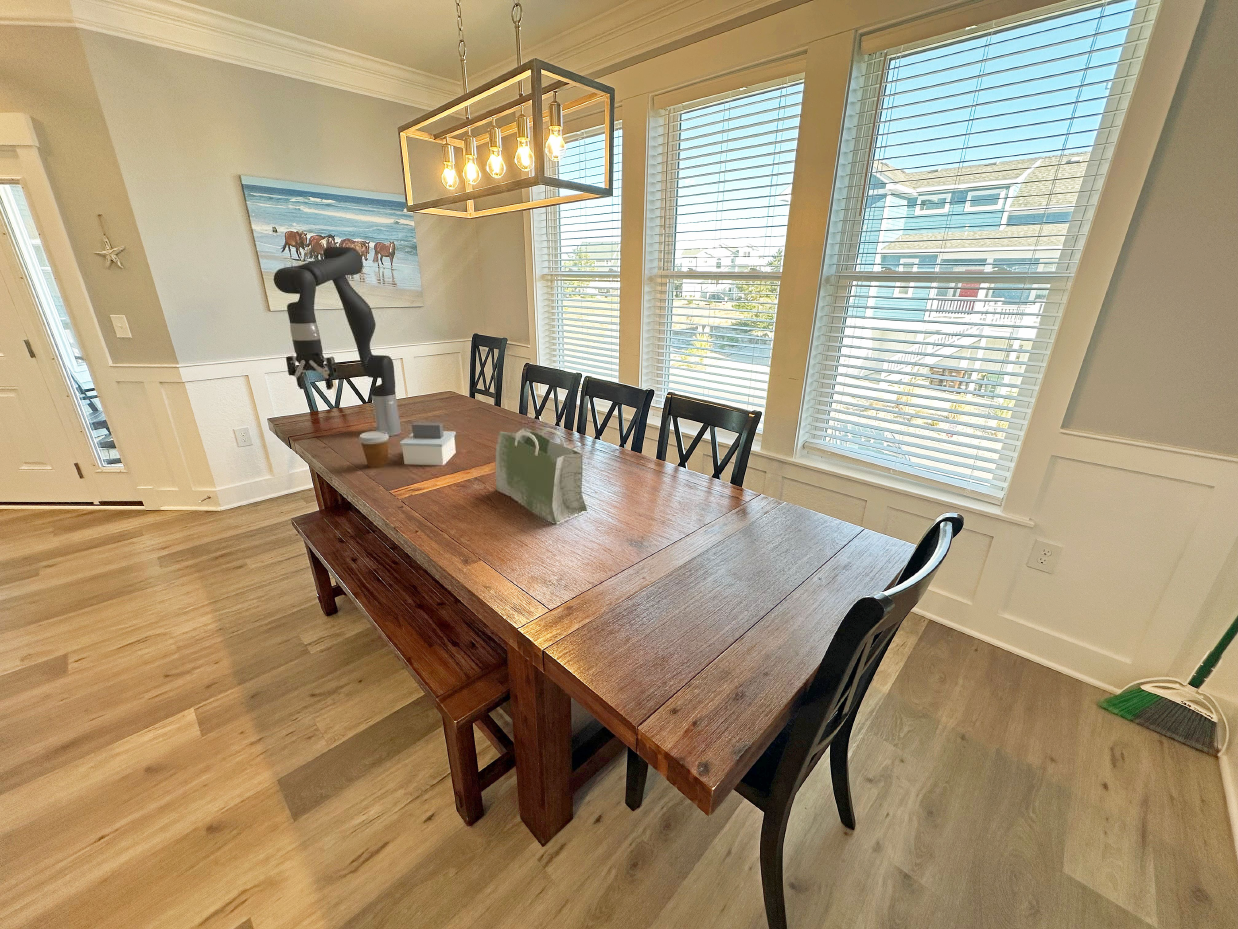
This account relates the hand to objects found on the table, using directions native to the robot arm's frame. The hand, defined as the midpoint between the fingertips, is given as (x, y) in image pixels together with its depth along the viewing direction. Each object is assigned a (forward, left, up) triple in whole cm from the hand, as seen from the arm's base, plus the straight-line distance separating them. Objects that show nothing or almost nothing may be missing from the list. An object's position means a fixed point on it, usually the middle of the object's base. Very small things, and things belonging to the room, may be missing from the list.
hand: (316, 389), depth 157 cm
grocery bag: (+17, +75, -30) cm, 82 cm away
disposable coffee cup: (-7, +13, -29) cm, 33 cm away
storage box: (-15, +29, -29) cm, 44 cm away
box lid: (-15, +29, -22) cm, 39 cm away
